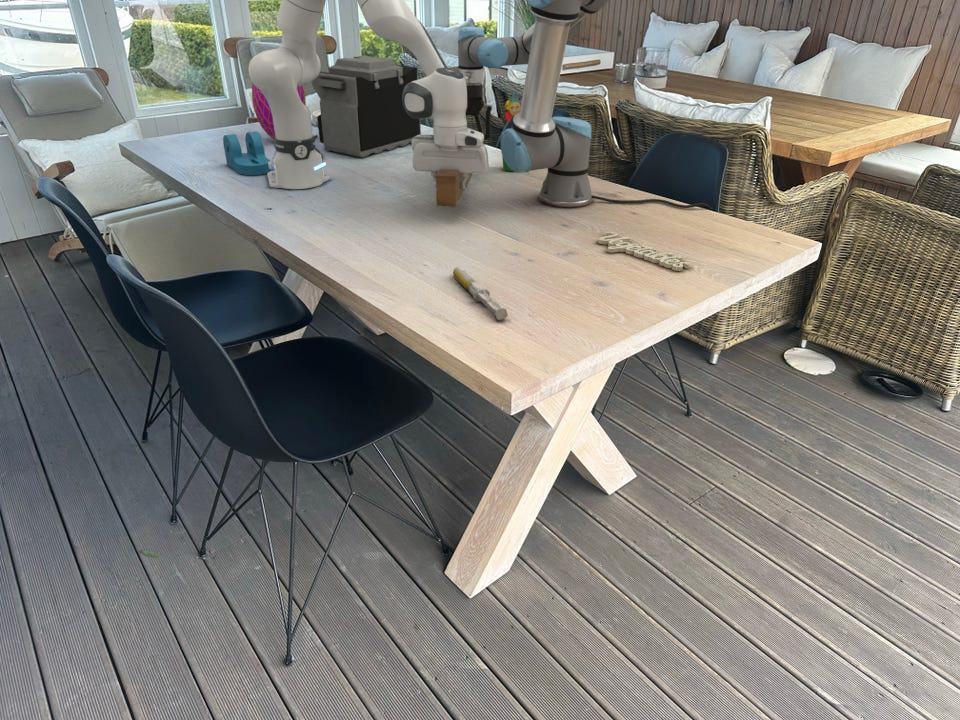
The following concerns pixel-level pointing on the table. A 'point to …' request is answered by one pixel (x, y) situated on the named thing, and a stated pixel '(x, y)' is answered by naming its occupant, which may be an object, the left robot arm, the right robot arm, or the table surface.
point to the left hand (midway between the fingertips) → (450, 188)
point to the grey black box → (365, 106)
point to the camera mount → (246, 154)
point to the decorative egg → (268, 109)
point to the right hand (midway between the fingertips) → (470, 160)
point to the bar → (449, 187)
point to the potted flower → (513, 110)
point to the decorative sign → (642, 251)
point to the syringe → (479, 293)
